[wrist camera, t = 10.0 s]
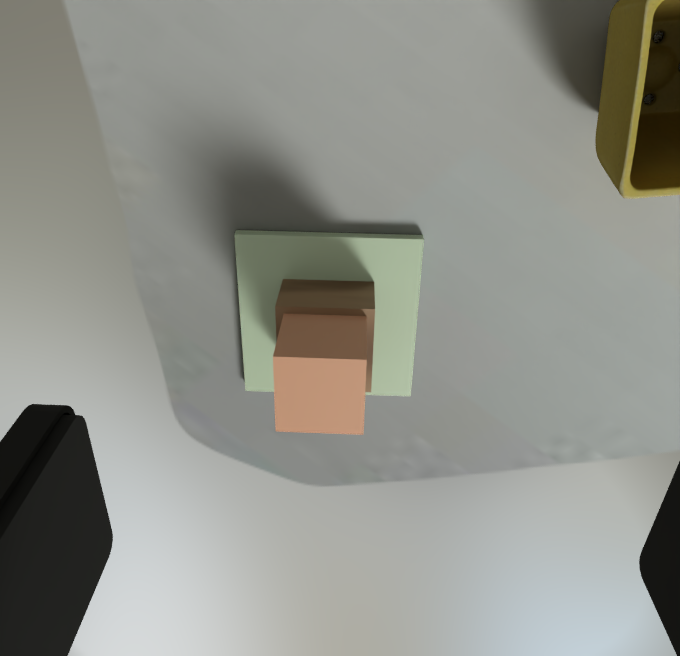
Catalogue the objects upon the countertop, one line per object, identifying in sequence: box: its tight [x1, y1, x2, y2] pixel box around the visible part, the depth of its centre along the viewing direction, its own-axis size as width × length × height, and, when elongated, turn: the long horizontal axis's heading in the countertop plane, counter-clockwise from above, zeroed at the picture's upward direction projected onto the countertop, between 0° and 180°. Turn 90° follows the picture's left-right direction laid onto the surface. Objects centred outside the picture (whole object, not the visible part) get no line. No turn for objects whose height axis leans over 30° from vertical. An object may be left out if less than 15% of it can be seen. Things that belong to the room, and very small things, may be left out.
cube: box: [273, 314, 367, 435], centre depth 36 cm, size 5×5×5 cm
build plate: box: [234, 230, 424, 396], centre depth 42 cm, size 12×12×1 cm
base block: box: [275, 279, 375, 392], centre depth 40 cm, size 6×6×4 cm
